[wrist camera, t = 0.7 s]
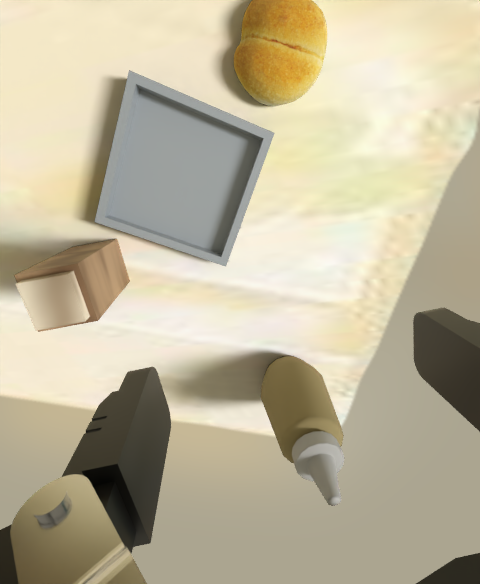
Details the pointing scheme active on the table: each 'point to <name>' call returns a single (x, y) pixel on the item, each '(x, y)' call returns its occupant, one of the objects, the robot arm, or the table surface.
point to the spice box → (73, 285)
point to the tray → (180, 171)
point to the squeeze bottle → (305, 422)
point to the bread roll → (280, 49)
